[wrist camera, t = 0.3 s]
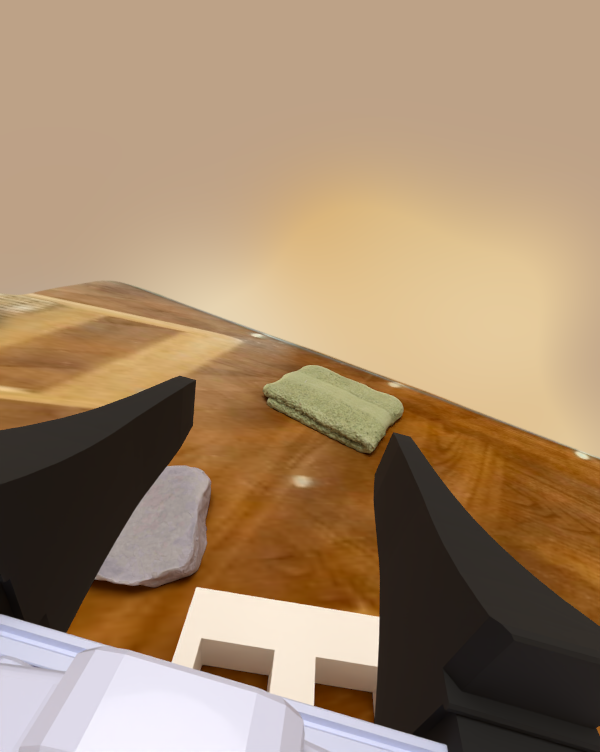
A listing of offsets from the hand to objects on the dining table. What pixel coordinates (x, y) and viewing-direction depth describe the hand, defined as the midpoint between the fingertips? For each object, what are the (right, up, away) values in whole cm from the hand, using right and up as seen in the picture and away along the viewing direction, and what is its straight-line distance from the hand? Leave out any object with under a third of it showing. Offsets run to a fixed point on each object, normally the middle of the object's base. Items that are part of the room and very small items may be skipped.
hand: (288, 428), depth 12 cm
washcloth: (+5, -3, +38) cm, 38 cm away
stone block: (-14, -12, +18) cm, 26 cm away
